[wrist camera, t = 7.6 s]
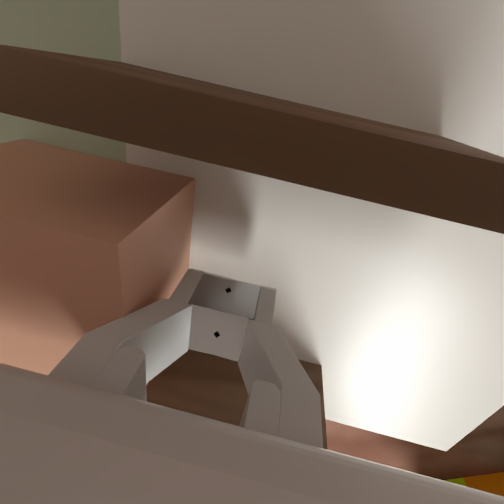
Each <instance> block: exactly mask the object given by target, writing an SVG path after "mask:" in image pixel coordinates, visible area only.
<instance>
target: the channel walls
mask: <svg viewBox="0 0 504 504" xmlns="http://www.w3.org/2000/svg"><path fill="white" fill-rule="evenodd" d="M0 112H1V113H5V114H9V115H13V116H17V117H21V118H25V119H30V120H34V121H38V122H42V123H46V124H50V125H54V126H59V127H63V128H67V129H71V130H75V131H79V132H83V133H87V134H92V135H96V136H100V137H104V138H108V139H112V140H116V141H121V142H125V143H129V144H133V145H137V146H141V147H145V148H150V149H154V150H158V151H162V152H166V153H170V154H174V155H179V156H183V157H187V158H191V159H195V160H199V161H203V162H207V163H212V164H216V165H220V166H224V167H228V168H232V169H236V170H241V171H245V172H249V173H253V174H257V175H261V176H265V177H270V178H274V179H278V180H282V181H286V182H290V183H294V184H299V185H303V186H307V187H311V188H315V189H319V190H323V191H327V192H332V193H336V194H340V195H344V196H348V197H352V198H356V199H361V200H365V201H369V202H373V203H377V204H381V205H385V206H390V207H394V208H398V209H402V210H406V211H410V212H414V213H419V214H423V215H427V216H431V217H435V218H439V219H443V220H447V221H452V222H456V223H460V224H464V225H468V226H472V227H476V228H481V229H485V230H489V231H493V232H497V233H501V234H504V157H501V156H498V155H495V154H492V153H489V152H487V151H484V150H481V149H478V148H475V147H472V146H469V145H466V144H463V143H460V142H457V141H454V140H452V139H449V138H446V137H443V136H439V135H434V134H430V133H426V132H421V131H417V130H413V129H408V128H404V127H400V126H396V125H391V124H387V123H383V122H378V121H374V120H370V119H365V118H361V117H357V116H352V115H348V114H344V113H339V112H335V111H331V110H326V109H322V108H318V107H313V106H309V105H305V104H300V103H296V102H292V101H287V100H283V99H279V98H275V97H270V96H266V95H262V94H257V93H253V92H249V91H244V90H240V89H236V88H231V87H227V86H223V85H218V84H214V83H210V82H205V81H201V80H197V79H192V78H188V77H184V76H179V75H175V74H171V73H166V72H162V71H158V70H154V69H149V68H145V67H141V66H136V65H132V64H128V63H123V62H117V61H111V60H104V59H97V58H90V57H83V56H76V55H69V54H63V53H56V52H49V51H42V50H35V49H28V48H21V47H15V46H8V45H1V44H0ZM298 360H299V359H298ZM299 362H300V363H301V365H302V367H303V368H304V370H305V371H306V373H307V375H308V376H309V378H310V379H311V381H312V383H313V384H314V386H315V387H316V389H317V391H318V392H319V394H320V402H321V418H322V435H323V449H327V438H326V424H325V409H324V394H323V379H322V365H318V364H314V363H310V362H307V361H303V360H299ZM146 395H147V402H150V403H154V404H157V405H161V406H165V407H169V408H172V409H176V410H180V411H184V412H187V413H191V414H195V415H199V416H202V417H206V418H210V419H214V420H218V421H221V422H225V423H229V424H233V425H236V426H239V425H240V422H241V418H242V415H243V412H244V409H245V406H246V402H247V399H248V396H249V395H248V392H247V389H246V386H245V383H244V380H243V377H242V374H241V371H240V368H239V365H238V362H237V361H233V360H230V359H226V358H223V357H219V356H216V355H212V354H208V353H203V352H199V351H195V350H190V349H188V351H187V352H186V353H185V354H183V355H182V356H181V357H179V358H178V359H177V360H176V361H174V362H173V363H172V364H171V365H169V366H168V367H167V368H165V369H164V370H163V371H162V372H160V373H159V374H158V375H156V376H155V377H154V378H153V379H151V380H150V381H149V382H148V384H147V386H146Z"/></svg>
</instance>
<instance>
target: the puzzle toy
mask: <svg viewBox="0 0 504 504" xmlns="http://www.w3.org/2000/svg"><path fill="white" fill-rule="evenodd" d="M444 481H447V482H451V483H455V484H459V485H462V486H466V487H470V488H474V489H477V490H481V491H485V492H489V493H492V494H496V495H500V496H504V472H499V473H492V474H485V475H477V476H470V477H463V478H456V479H449V480H444Z"/></svg>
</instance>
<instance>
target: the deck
mask: <svg viewBox="0 0 504 504" xmlns="http://www.w3.org/2000/svg"><path fill="white" fill-rule="evenodd" d="M0 44H1V45H8V46H15V47H21V48H28V49H35V50H42V51H49V52H56V53H63V54H69V55H76V56H83V57H90V58H97V59H104V60H111V61H117V62H123V63H128V64H132V65H136V66H141V67H145V68H149V69H154V70H158V71H162V72H166V73H171V74H175V75H179V76H184V77H188V78H192V79H197V80H201V81H205V82H210V83H214V84H218V85H223V86H227V87H231V88H236V89H240V90H244V91H249V92H253V93H257V94H262V95H266V96H270V97H275V98H279V99H283V100H287V101H292V102H296V103H300V104H305V105H309V106H313V107H318V108H322V109H326V110H331V111H335V112H339V113H344V114H348V115H352V116H357V117H361V118H365V119H370V120H374V121H378V122H383V123H387V124H391V125H396V126H400V127H404V128H408V129H413V130H417V131H421V132H426V133H430V134H434V135H439V136H443V137H446V138H449V139H452V140H454V141H457V142H460V143H463V144H466V145H469V146H472V147H475V148H478V149H481V150H484V151H487V152H489V153H492V154H495V155H498V156H501V157H504V0H0ZM21 139H25V140H30V141H34V142H38V143H43V144H47V145H51V146H56V147H60V148H65V149H69V150H73V151H78V152H82V153H86V154H91V155H95V156H100V157H104V158H108V159H113V160H117V161H121V162H126V163H130V164H135V165H139V166H143V167H148V168H152V169H156V170H161V171H165V172H170V173H174V174H178V175H183V176H187V177H191V178H195V188H194V202H193V216H192V230H191V244H190V258H189V269H190V268H193V269H197V270H201V271H205V272H209V273H213V274H217V275H221V276H224V277H228V278H232V279H235V280H239V281H243V282H247V283H251V284H256V285H260V286H261V285H262V286H267V287H271V288H276V289H277V295H276V303H275V311H274V319H273V325H274V326H278V328H279V330H280V331H281V333H282V334H283V336H284V338H285V339H286V341H287V342H288V344H289V346H290V347H291V349H292V350H293V352H294V354H295V355H296V357H297V358H298V359H299V360H303V361H307V362H310V363H314V364H318V365H322V379H323V394H324V409H325V419H328V420H331V421H335V422H339V423H342V424H346V425H350V426H353V427H357V428H361V429H365V430H368V431H372V432H376V433H379V434H383V435H387V436H390V437H394V438H398V439H402V440H405V441H409V442H413V443H416V444H420V445H424V446H427V447H431V448H435V449H439V450H442V451H447V450H449V449H450V448H451V447H452V446H454V445H455V444H456V443H457V442H459V441H460V440H461V439H462V438H464V437H465V436H466V435H467V434H469V433H470V432H471V431H472V430H474V429H475V428H476V427H477V426H479V425H480V424H481V423H482V422H484V421H485V420H486V419H487V418H489V417H490V416H491V415H492V414H494V413H495V412H496V411H497V410H499V409H500V408H501V407H502V406H504V234H501V233H497V232H493V231H489V230H485V229H481V228H476V227H472V226H468V225H464V224H460V223H456V222H452V221H447V220H443V219H439V218H435V217H431V216H427V215H423V214H419V213H414V212H410V211H406V210H402V209H398V208H394V207H390V206H385V205H381V204H377V203H373V202H369V201H365V200H361V199H356V198H352V197H348V196H344V195H340V194H336V193H332V192H327V191H323V190H319V189H315V188H311V187H307V186H303V185H299V184H294V183H290V182H286V181H282V180H278V179H274V178H270V177H265V176H261V175H257V174H253V173H249V172H245V171H241V170H236V169H232V168H228V167H224V166H220V165H216V164H212V163H207V162H203V161H199V160H195V159H191V158H187V157H183V156H179V155H174V154H170V153H166V152H162V151H158V150H154V149H150V148H145V147H141V146H137V145H133V144H129V143H125V142H121V141H116V140H112V139H108V138H104V137H100V136H96V135H92V134H87V133H83V132H79V131H75V130H71V129H67V128H63V127H59V126H54V125H50V124H46V123H42V122H38V121H34V120H30V119H25V118H21V117H17V116H13V115H9V114H5V113H1V112H0V143H4V142H10V141H15V140H21Z"/></svg>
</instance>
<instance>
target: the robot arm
mask: <svg viewBox="0 0 504 504" xmlns="http://www.w3.org/2000/svg"><path fill="white" fill-rule="evenodd" d="M276 295H277V289H276V288H271V287H267V286H262V285H261V286H260V285H256V284H251V283H247V282H243V281H239V280H235V279H232V278H228V277H224V276H221V275H217V274H213V273H209V272H205V271H201V270H197V269H193V268H190V269H188V270H187V272H186V273H185V275H184V276H183V278H182V280H181V281H180V283H179V284H178V286H177V287H176V289H175V291H174V292H173V294H172V295H171V297H170V298H169V299H166V298H163V299H161V300H159V301H157V302H154V303H152V304H150V305H148V306H146V307H143V308H141V309H139V310H137V311H134V312H132V313H130V314H128V315H126V317H125V318H124V317H121V318H119V319H116V320H114V321H112V322H110V323H108V324H105V325H103V326H101V327H99V328H96V329H94V330H92V331H90V332H87V333H85V334H84V335H83V337H82V338H81V339H80V340H79V341H78V342H77V343H76V344H75V346H74V347H73V348H72V349H71V350H70V351H69V352H68V353H67V354H66V356H65V357H64V358H63V359H62V360H61V361H60V362H59V363H58V364H57V366H56V367H55V368H54V369H53V370H52V371H51V372H50V373H49V375H45V374H41V373H37V372H33V371H30V370H26V369H22V368H18V367H14V366H11V365H7V364H3V363H0V504H504V496H500V495H496V494H492V493H489V492H485V491H481V490H477V489H474V488H470V487H466V486H462V485H459V484H455V483H451V482H447V481H444V480H440V479H436V478H432V477H429V476H425V475H421V474H417V473H414V472H410V471H406V470H402V469H398V468H395V467H391V466H387V465H383V464H380V463H376V462H372V461H368V460H365V459H361V458H357V457H353V456H350V455H346V454H342V453H338V452H335V451H331V450H327V449H323V435H322V418H321V402H320V394H319V392H318V391H317V389H316V387H315V386H314V384H313V383H312V381H311V379H310V378H309V376H308V375H307V373H306V371H305V370H304V368H303V367H302V365H301V363H300V362H299V360H298V358H297V357H296V355H295V354H294V352H293V350H292V349H291V347H290V346H289V344H288V342H287V341H286V339H285V338H284V336H283V334H282V333H281V331H280V330H279V328H278V326H274V325H273V319H274V311H275V303H276ZM188 349H190V350H195V351H199V352H203V353H208V354H212V355H216V356H219V357H223V358H226V359H230V360H233V361H237V362H238V365H239V368H240V371H241V374H242V377H243V380H244V383H245V386H246V389H247V392H248V395H249V396H248V399H247V402H246V406H245V409H244V412H243V415H242V418H241V422H240V425H239V426H236V425H233V424H229V423H225V422H221V421H218V420H214V419H210V418H206V417H202V416H199V415H195V414H191V413H187V412H184V411H180V410H176V409H172V408H169V407H165V406H161V405H157V404H154V403H150V402H147V395H146V383H148V382H149V381H150V380H151V379H153V378H154V377H155V376H156V375H158V374H159V373H160V372H162V371H163V370H164V369H165V368H167V367H168V366H169V365H171V364H172V363H173V362H174V361H176V360H177V359H178V358H179V357H181V356H182V355H183V354H185V353H186V352H187V351H188Z"/></svg>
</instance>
